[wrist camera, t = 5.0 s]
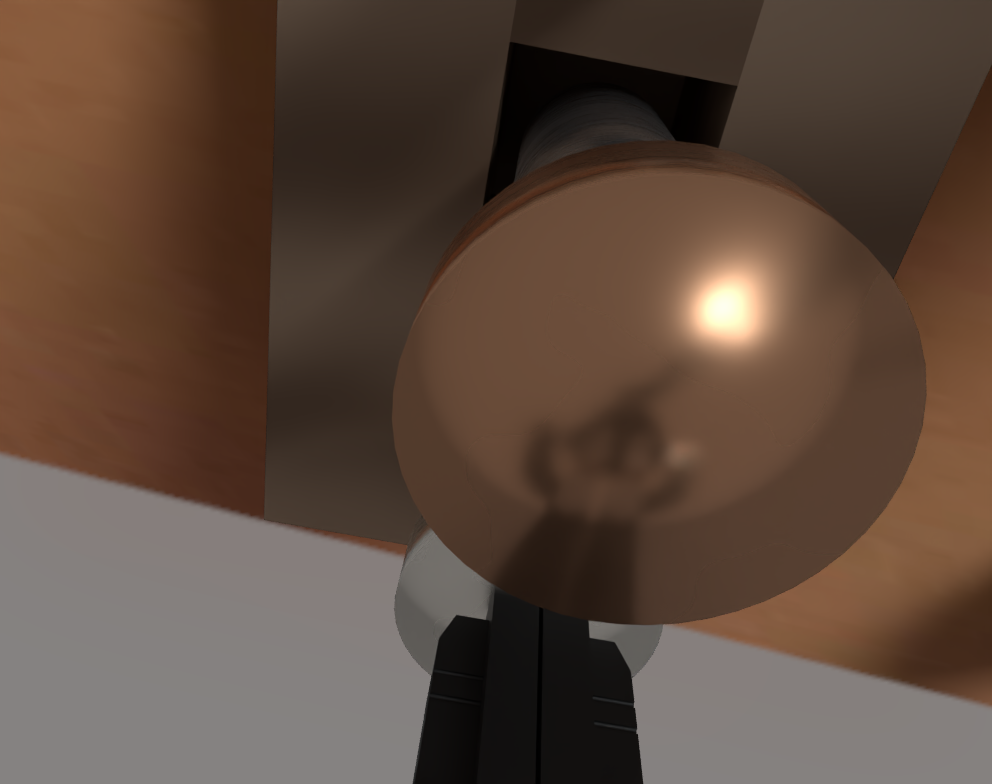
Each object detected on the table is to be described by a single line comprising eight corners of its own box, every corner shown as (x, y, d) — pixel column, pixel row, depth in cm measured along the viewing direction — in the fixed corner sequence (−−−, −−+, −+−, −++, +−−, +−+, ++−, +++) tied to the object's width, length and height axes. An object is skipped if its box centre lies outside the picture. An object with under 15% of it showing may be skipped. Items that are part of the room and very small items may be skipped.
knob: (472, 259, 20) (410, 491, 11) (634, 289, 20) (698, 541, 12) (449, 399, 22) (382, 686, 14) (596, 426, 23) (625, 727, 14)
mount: (387, -456, 15) (295, -690, 9) (999, -326, 15) (1242, -481, 10) (327, 397, 24) (263, 519, 19) (702, 465, 24) (744, 603, 19)
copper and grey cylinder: (505, 21, 14) (425, 121, 5) (735, 66, 14) (1034, 237, 5) (468, 246, 16) (370, 582, 8) (669, 283, 16) (807, 658, 8)
